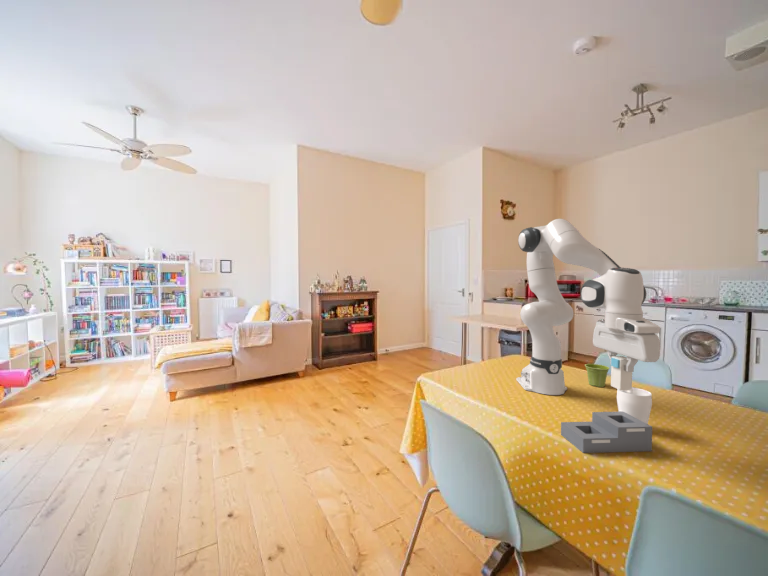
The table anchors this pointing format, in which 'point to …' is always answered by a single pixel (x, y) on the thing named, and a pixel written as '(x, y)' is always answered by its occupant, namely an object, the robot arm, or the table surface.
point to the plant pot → (597, 374)
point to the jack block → (609, 433)
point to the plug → (620, 373)
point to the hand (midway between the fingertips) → (621, 369)
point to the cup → (635, 403)
